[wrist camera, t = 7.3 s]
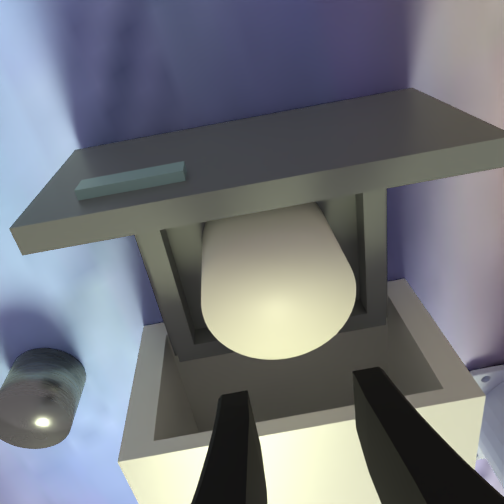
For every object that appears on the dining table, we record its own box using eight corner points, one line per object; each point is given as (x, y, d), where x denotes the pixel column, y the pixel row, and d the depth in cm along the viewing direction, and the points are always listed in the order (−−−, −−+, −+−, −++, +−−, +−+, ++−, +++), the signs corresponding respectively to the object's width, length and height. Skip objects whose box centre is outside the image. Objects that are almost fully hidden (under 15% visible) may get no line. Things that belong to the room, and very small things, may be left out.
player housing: (404, 278, 22) (485, 395, 16) (402, 414, 27) (462, 545, 21) (143, 325, 22) (117, 462, 16) (190, 452, 27) (185, 594, 21)
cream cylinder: (323, 172, 17) (354, 219, 13) (330, 282, 19) (357, 346, 16) (190, 194, 17) (185, 247, 13) (215, 302, 19) (216, 370, 16)
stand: (71, 342, 22) (53, 388, 20) (95, 392, 24) (82, 441, 21) (-1, 355, 22) (-28, 403, 20) (29, 404, 24) (8, 454, 21)
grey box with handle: (412, 79, 17) (516, 123, 11) (407, 289, 22) (478, 394, 16) (72, 142, 17) (3, 218, 11) (145, 337, 22) (123, 459, 16)
